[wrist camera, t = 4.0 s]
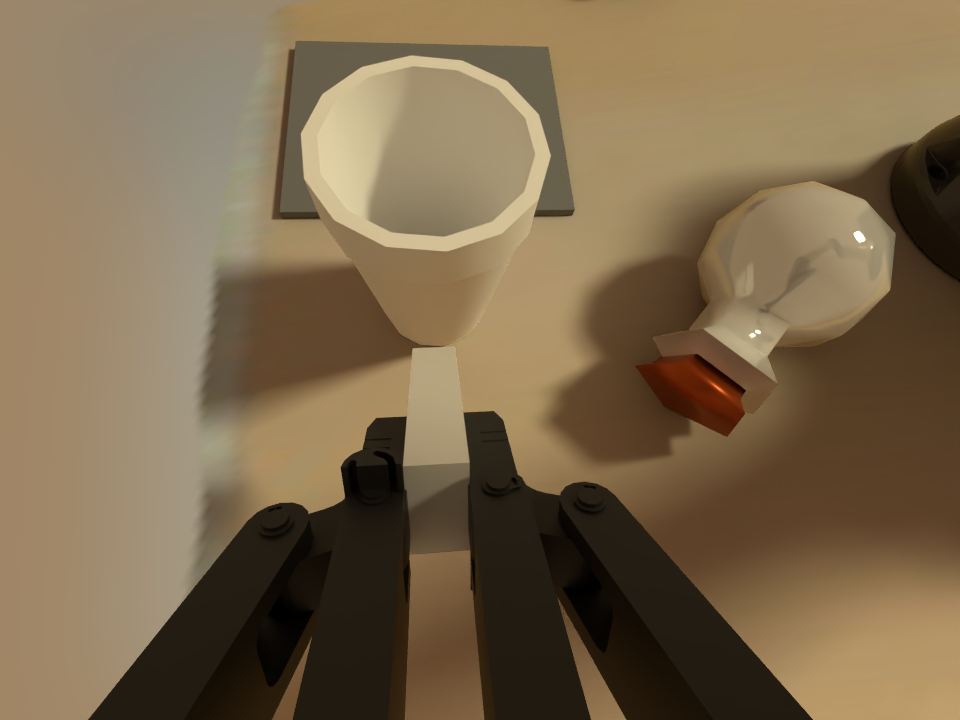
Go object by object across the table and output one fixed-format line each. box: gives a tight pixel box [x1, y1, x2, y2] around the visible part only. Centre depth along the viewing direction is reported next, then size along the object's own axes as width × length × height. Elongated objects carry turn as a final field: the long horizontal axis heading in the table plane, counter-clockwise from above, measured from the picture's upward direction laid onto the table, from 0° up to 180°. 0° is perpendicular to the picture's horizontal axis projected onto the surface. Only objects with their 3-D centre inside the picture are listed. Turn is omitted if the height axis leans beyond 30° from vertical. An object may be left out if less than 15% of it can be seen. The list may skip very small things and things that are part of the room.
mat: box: [279, 41, 575, 218], centre depth 34 cm, size 16×20×1 cm
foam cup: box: [301, 55, 551, 346], centre depth 24 cm, size 10×9×13 cm
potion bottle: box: [636, 181, 896, 437], centre depth 26 cm, size 9×10×15 cm
